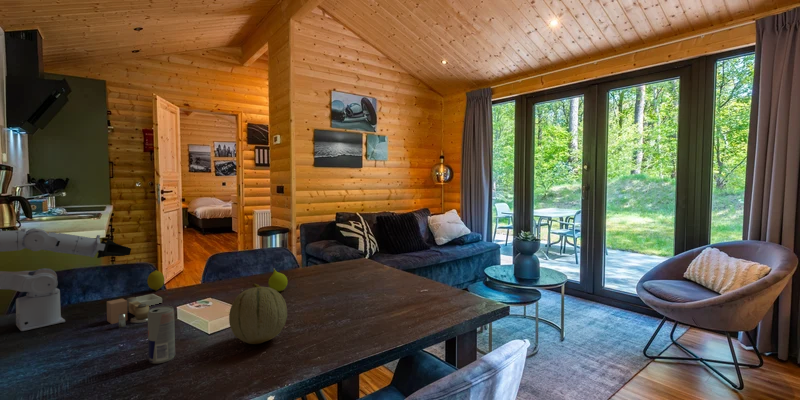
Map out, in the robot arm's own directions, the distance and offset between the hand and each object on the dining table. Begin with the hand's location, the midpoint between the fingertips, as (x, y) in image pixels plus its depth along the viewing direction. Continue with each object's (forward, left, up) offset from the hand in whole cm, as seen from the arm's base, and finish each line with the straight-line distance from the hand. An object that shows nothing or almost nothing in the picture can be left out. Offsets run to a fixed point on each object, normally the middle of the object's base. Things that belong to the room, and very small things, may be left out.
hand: (127, 252), depth 125 cm
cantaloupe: (+12, -57, -19) cm, 62 cm away
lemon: (+14, +16, -19) cm, 28 cm away
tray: (+5, +1, -19) cm, 19 cm away
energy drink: (-8, -48, -19) cm, 53 cm away
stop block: (-6, -10, -19) cm, 22 cm away
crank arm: (-1, -11, -18) cm, 21 cm away
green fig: (+43, -21, -19) cm, 51 cm away
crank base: (-3, -15, -19) cm, 24 cm away
